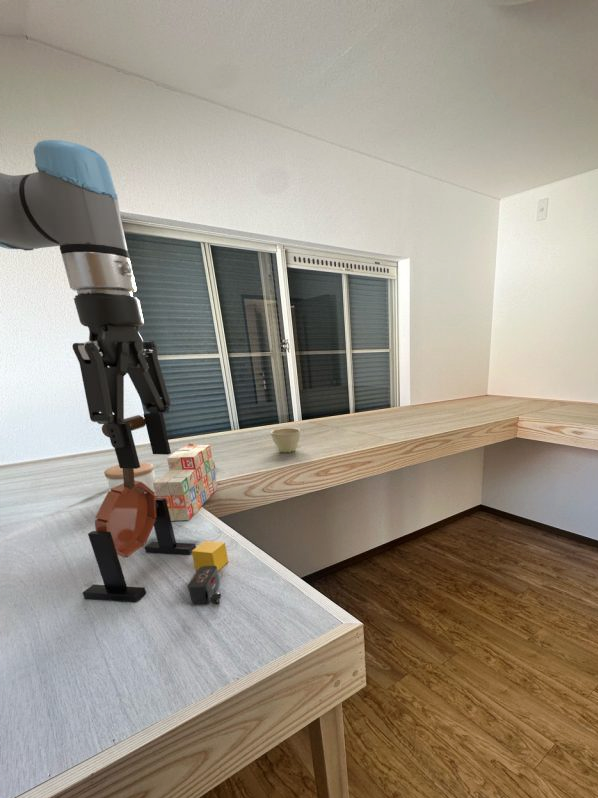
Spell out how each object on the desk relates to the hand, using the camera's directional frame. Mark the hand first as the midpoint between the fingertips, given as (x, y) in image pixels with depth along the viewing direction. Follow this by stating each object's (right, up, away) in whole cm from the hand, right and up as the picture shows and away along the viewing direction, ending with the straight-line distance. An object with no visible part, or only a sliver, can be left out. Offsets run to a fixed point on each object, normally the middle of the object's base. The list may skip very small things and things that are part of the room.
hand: (146, 460), depth 64 cm
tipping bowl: (-6, -4, +2) cm, 8 cm away
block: (+8, -16, +9) cm, 20 cm away
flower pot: (+2, +14, +84) cm, 85 cm away
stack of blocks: (-10, -6, +38) cm, 40 cm away
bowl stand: (-5, -19, +9) cm, 21 cm away
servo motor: (+9, -22, +2) cm, 24 cm away
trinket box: (-27, -4, +43) cm, 51 cm away
